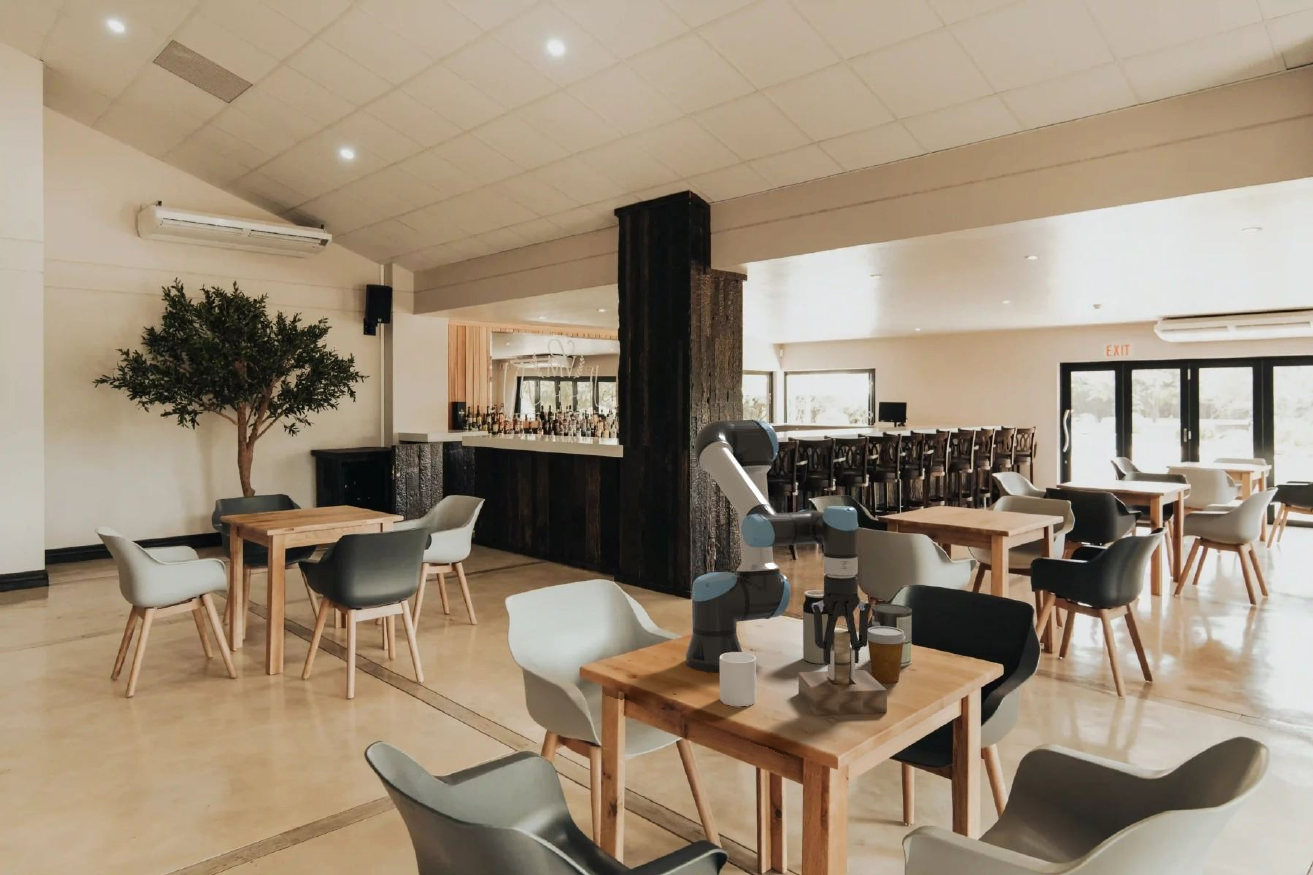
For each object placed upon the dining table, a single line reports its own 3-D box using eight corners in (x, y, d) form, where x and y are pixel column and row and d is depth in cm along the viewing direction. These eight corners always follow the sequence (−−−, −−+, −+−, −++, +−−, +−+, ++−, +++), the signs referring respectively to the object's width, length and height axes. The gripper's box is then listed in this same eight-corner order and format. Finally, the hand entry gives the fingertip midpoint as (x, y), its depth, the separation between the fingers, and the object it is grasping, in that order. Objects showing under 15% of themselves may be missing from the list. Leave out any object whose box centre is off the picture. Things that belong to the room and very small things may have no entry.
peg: (835, 688, 178) (835, 634, 178) (829, 682, 182) (829, 629, 182) (853, 687, 178) (852, 634, 178) (847, 681, 183) (847, 629, 182)
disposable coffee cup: (904, 674, 200) (903, 626, 200) (907, 686, 191) (907, 636, 191) (865, 671, 202) (864, 624, 202) (866, 683, 193) (866, 634, 193)
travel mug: (797, 659, 214) (796, 592, 213) (817, 653, 218) (816, 588, 218) (819, 666, 207) (819, 597, 207) (839, 660, 212) (839, 593, 212)
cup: (713, 703, 181) (713, 659, 180) (735, 688, 191) (735, 646, 191) (747, 710, 176) (747, 664, 176) (767, 693, 187) (767, 650, 187)
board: (815, 715, 173) (815, 692, 173) (798, 693, 187) (798, 672, 187) (886, 712, 174) (886, 689, 174) (865, 690, 188) (864, 669, 188)
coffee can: (876, 666, 206) (876, 612, 206) (867, 655, 217) (867, 603, 216) (917, 667, 206) (916, 612, 206) (905, 655, 216) (905, 603, 216)
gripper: (808, 579, 176) (808, 684, 176) (883, 577, 177) (883, 681, 177) (799, 572, 183) (799, 673, 183) (871, 570, 184) (872, 671, 185)
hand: (841, 677), depth 180 cm, fingers closed on peg, 4 cm apart
